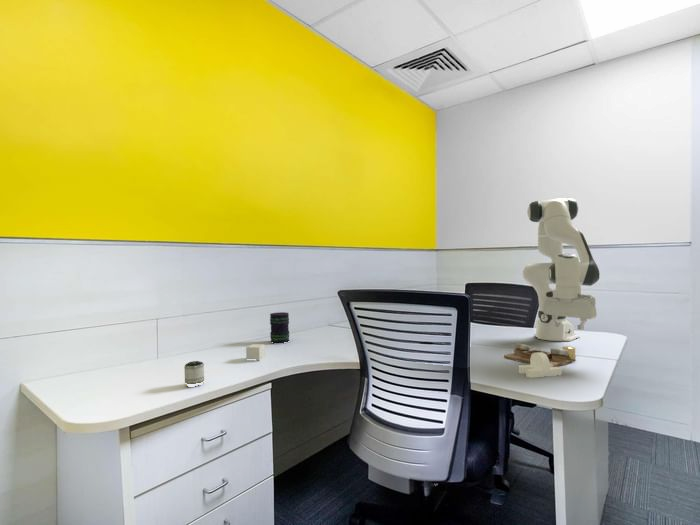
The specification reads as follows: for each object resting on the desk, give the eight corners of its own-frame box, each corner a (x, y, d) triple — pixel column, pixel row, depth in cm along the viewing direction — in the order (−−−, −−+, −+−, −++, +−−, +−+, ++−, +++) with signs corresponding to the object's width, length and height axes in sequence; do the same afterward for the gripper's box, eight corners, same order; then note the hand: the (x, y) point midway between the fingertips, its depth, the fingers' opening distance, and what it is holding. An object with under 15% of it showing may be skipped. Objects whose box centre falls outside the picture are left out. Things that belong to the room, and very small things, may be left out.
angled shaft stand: (551, 357, 155) (550, 347, 155) (568, 359, 152) (567, 348, 152) (550, 360, 152) (550, 349, 152) (567, 361, 149) (567, 351, 149)
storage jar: (290, 339, 207) (289, 312, 207) (288, 343, 198) (288, 314, 198) (271, 340, 207) (271, 312, 207) (269, 344, 197) (268, 315, 197)
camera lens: (203, 381, 137) (202, 359, 137) (205, 386, 132) (205, 363, 132) (184, 384, 134) (183, 361, 134) (185, 389, 129) (185, 365, 129)
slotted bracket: (549, 370, 142) (548, 349, 142) (562, 375, 136) (562, 353, 136) (517, 372, 140) (517, 351, 140) (530, 378, 133) (529, 356, 133)
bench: (527, 352, 169) (526, 340, 169) (572, 362, 151) (572, 349, 151) (504, 357, 161) (503, 345, 161) (549, 368, 144) (548, 354, 144)
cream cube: (246, 361, 164) (246, 347, 164) (252, 357, 170) (252, 344, 170) (259, 361, 163) (259, 347, 163) (265, 358, 169) (264, 344, 169)
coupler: (567, 358, 158) (566, 346, 158) (577, 360, 154) (577, 348, 154) (560, 359, 156) (560, 347, 156) (571, 362, 152) (571, 349, 152)
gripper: (599, 294, 148) (600, 330, 147) (549, 292, 165) (550, 324, 165) (590, 295, 144) (591, 332, 144) (540, 292, 162) (540, 325, 162)
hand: (568, 327), depth 155 cm, fingers open, 8 cm apart
